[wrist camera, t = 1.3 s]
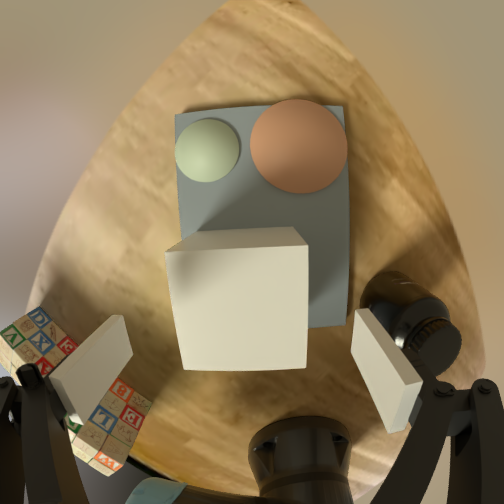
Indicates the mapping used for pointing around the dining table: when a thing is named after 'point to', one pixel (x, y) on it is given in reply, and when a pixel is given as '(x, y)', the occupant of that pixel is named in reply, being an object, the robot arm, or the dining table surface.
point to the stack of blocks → (81, 436)
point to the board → (273, 185)
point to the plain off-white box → (240, 299)
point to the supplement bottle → (413, 319)
